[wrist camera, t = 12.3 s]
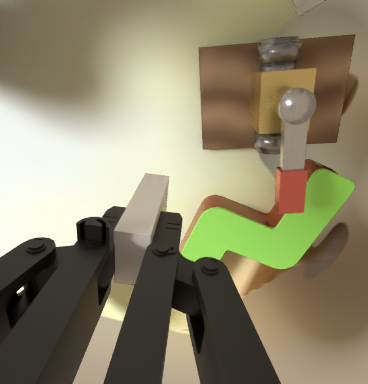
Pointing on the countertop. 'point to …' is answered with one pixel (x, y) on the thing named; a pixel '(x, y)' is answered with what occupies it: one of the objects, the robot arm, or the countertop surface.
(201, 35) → the countertop surface
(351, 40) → the board
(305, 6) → the supplement box
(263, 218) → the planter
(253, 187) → the countertop surface
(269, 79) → the valve
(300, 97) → the lever
